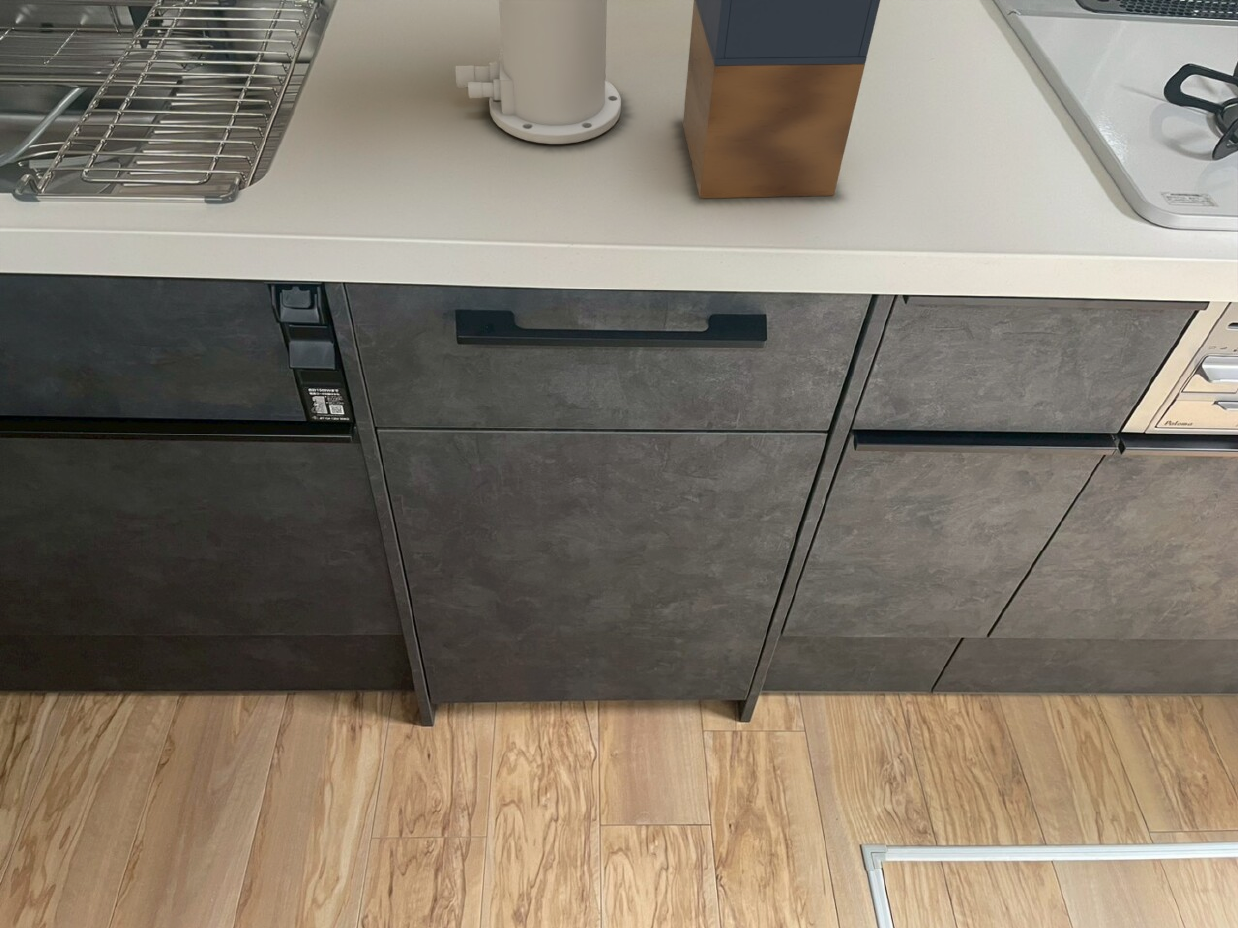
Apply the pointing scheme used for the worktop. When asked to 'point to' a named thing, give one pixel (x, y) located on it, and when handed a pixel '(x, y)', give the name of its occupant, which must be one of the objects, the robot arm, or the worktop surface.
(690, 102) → the stand
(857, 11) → the slate grey square cap
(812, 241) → the worktop surface
